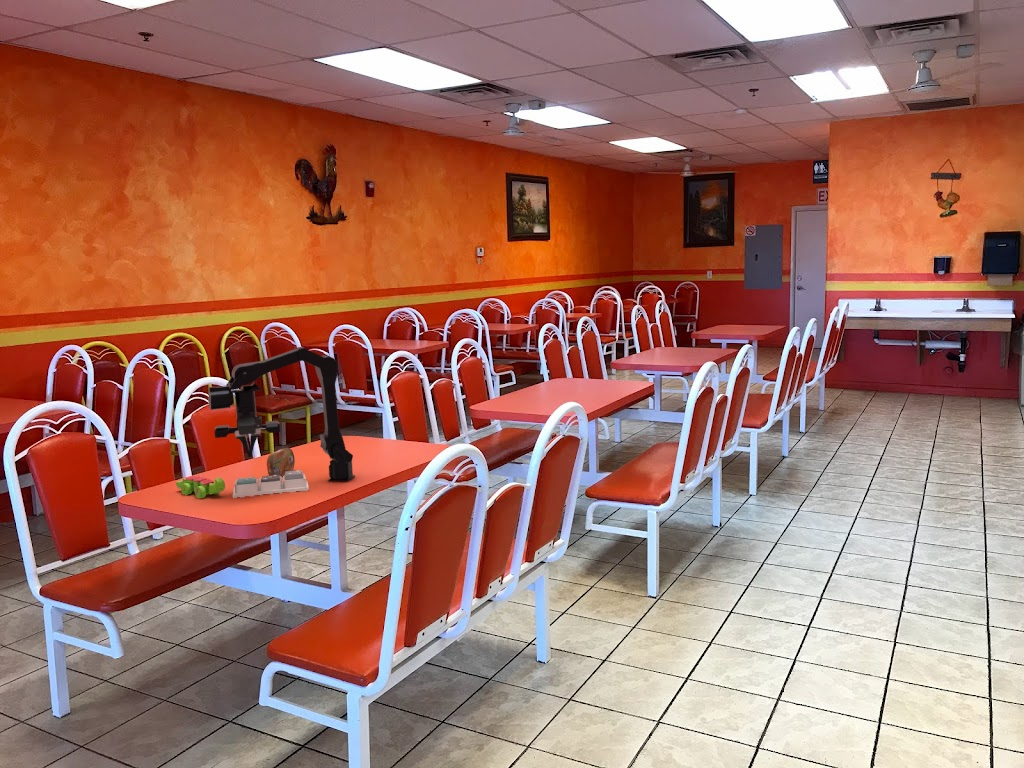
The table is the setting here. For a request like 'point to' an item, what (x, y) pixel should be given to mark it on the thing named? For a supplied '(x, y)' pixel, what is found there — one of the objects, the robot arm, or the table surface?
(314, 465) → the table surface
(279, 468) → the brown flat rounded piece
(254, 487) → the keypad
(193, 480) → the toy crocodile
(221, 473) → the table surface
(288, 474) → the key two dots
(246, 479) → the key one dot
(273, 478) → the key three dots
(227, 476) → the table surface
